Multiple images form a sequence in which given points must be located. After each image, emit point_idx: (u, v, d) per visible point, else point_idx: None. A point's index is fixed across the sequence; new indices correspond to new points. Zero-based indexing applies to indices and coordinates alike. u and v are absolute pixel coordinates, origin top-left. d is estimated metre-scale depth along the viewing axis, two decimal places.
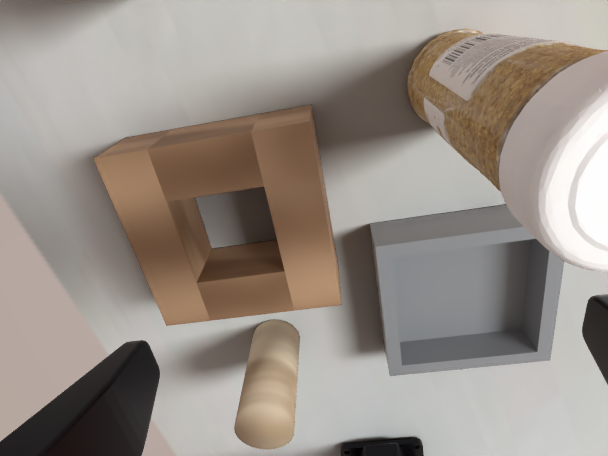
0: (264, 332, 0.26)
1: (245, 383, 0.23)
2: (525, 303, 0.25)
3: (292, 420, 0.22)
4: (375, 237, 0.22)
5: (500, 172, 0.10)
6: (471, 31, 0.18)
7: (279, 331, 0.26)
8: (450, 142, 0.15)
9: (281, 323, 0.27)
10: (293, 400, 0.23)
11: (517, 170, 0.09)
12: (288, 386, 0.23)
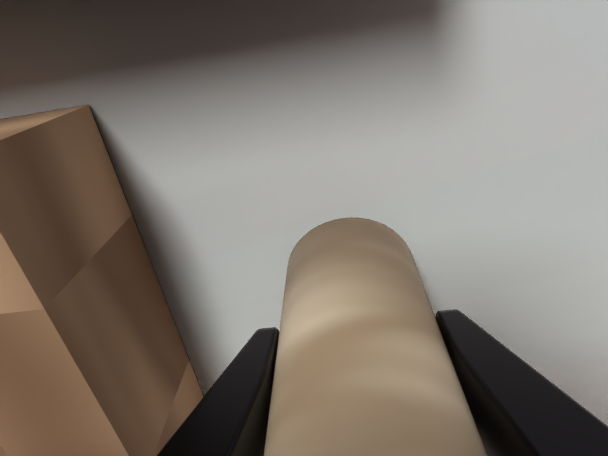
0: None
1: None
2: None
3: None
4: None
5: None
6: None
7: (285, 287, 0.09)
8: None
9: (288, 264, 0.10)
10: (342, 432, 0.05)
11: None
12: (302, 409, 0.05)
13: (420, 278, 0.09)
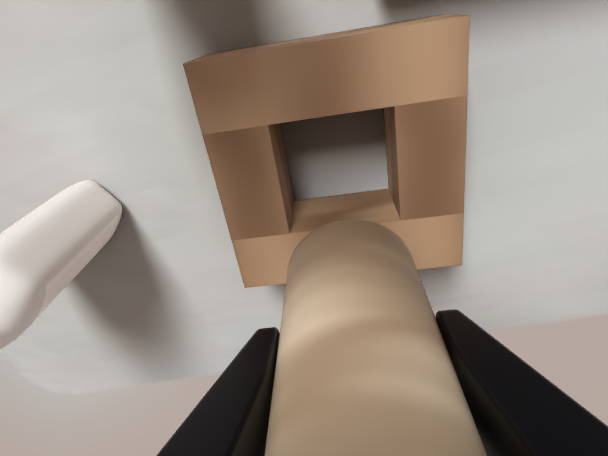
0: None
1: None
2: None
3: None
4: None
5: None
6: None
7: (285, 288, 0.09)
8: None
9: (289, 266, 0.10)
10: (343, 436, 0.05)
11: None
12: (302, 412, 0.05)
13: None
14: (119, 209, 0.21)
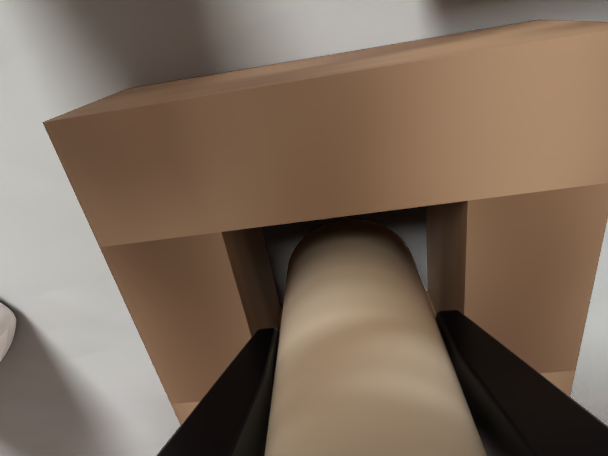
0: None
1: None
2: None
3: None
4: None
5: None
6: None
7: (285, 288, 0.09)
8: None
9: (289, 265, 0.10)
10: (343, 436, 0.05)
11: None
12: (303, 412, 0.05)
13: (420, 280, 0.09)
14: (6, 323, 0.13)
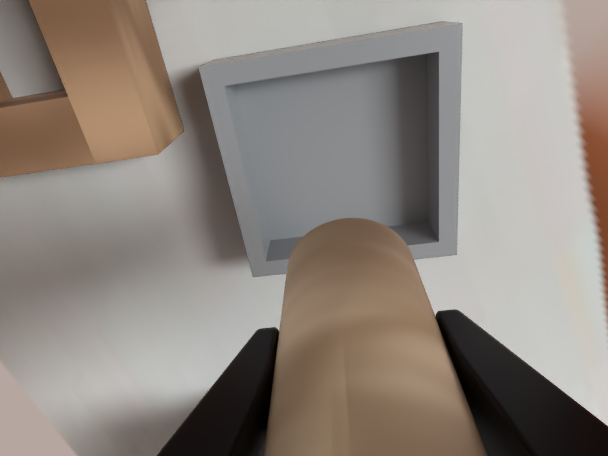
0: None
1: None
2: (428, 182, 0.19)
3: None
4: (207, 63, 0.16)
5: None
6: None
7: (285, 287, 0.09)
8: None
9: (288, 264, 0.10)
10: (342, 434, 0.05)
11: None
12: (301, 411, 0.05)
13: (420, 278, 0.09)
14: None
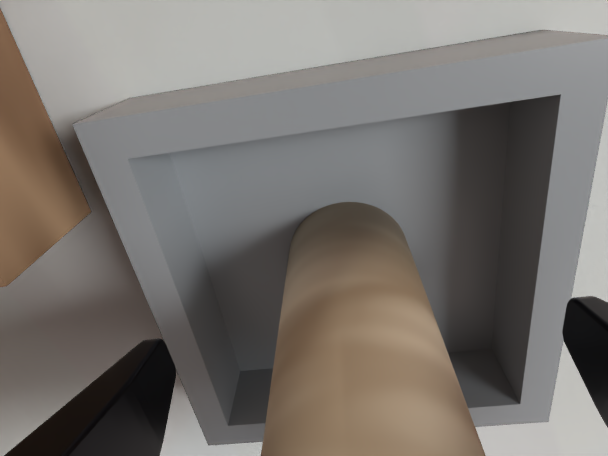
0: None
1: None
2: (497, 294, 0.12)
3: None
4: (102, 112, 0.08)
5: None
6: None
7: None
8: None
9: (290, 245, 0.11)
10: (336, 373, 0.06)
11: None
12: (302, 359, 0.06)
13: (412, 257, 0.10)
14: None
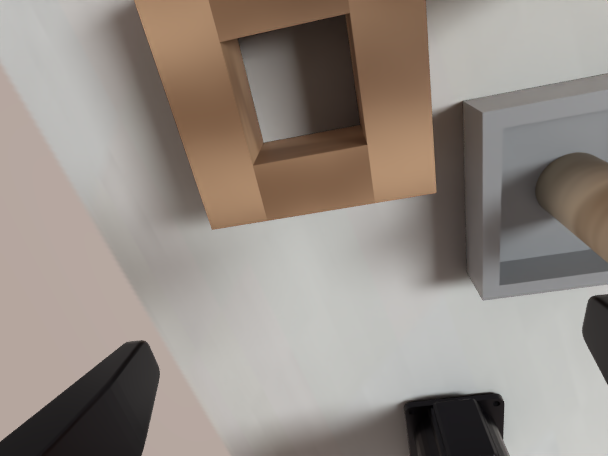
0: (546, 204, 0.19)
1: (601, 257, 0.16)
2: None
3: None
4: (477, 107, 0.17)
5: None
6: None
7: (549, 186, 0.19)
8: None
9: (542, 178, 0.19)
10: None
11: None
12: None
13: None
14: None
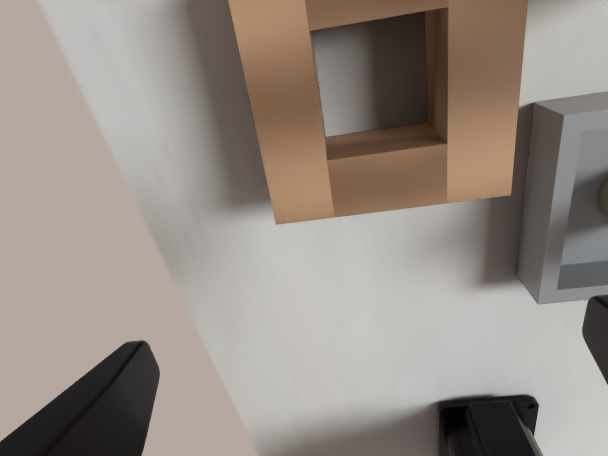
0: None
1: None
2: None
3: None
4: (555, 109, 0.17)
5: None
6: None
7: None
8: None
9: (607, 184, 0.19)
10: None
11: None
12: None
13: None
14: None
